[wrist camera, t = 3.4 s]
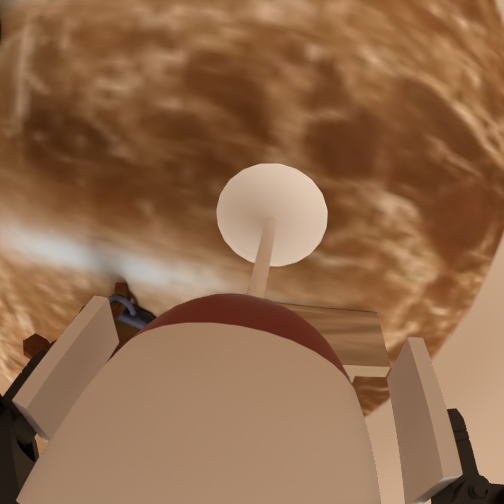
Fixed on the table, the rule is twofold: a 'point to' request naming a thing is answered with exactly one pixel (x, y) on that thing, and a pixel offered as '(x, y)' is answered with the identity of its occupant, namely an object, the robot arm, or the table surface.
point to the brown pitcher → (123, 315)
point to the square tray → (350, 338)
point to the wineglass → (222, 388)
